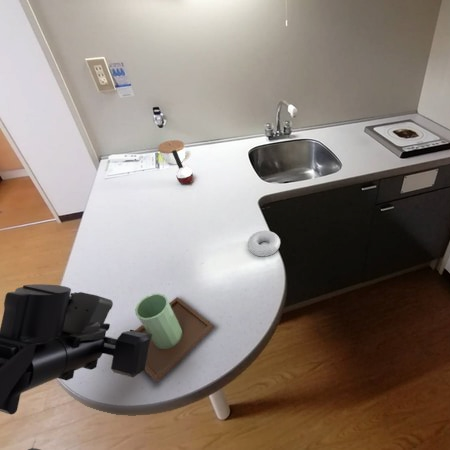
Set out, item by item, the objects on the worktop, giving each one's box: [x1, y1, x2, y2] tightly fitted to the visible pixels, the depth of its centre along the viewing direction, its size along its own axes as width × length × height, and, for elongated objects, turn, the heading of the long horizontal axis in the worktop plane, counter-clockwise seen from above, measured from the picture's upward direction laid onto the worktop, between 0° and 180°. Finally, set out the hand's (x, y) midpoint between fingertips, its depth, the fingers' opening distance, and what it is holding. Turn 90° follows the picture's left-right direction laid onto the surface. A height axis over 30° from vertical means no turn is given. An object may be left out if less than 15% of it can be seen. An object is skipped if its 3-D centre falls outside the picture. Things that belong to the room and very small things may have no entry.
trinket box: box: [157, 139, 186, 166], centre depth 134 cm, size 11×11×9 cm
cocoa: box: [172, 150, 194, 186], centre depth 120 cm, size 10×6×12 cm, turn 14°
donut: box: [247, 230, 281, 257], centre depth 94 cm, size 10×4×10 cm
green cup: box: [134, 292, 183, 349], centre depth 67 cm, size 6×6×12 cm
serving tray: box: [134, 297, 214, 384], centre depth 71 cm, size 16×14×2 cm
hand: (129, 331), depth 58 cm, fingers open, 9 cm apart
